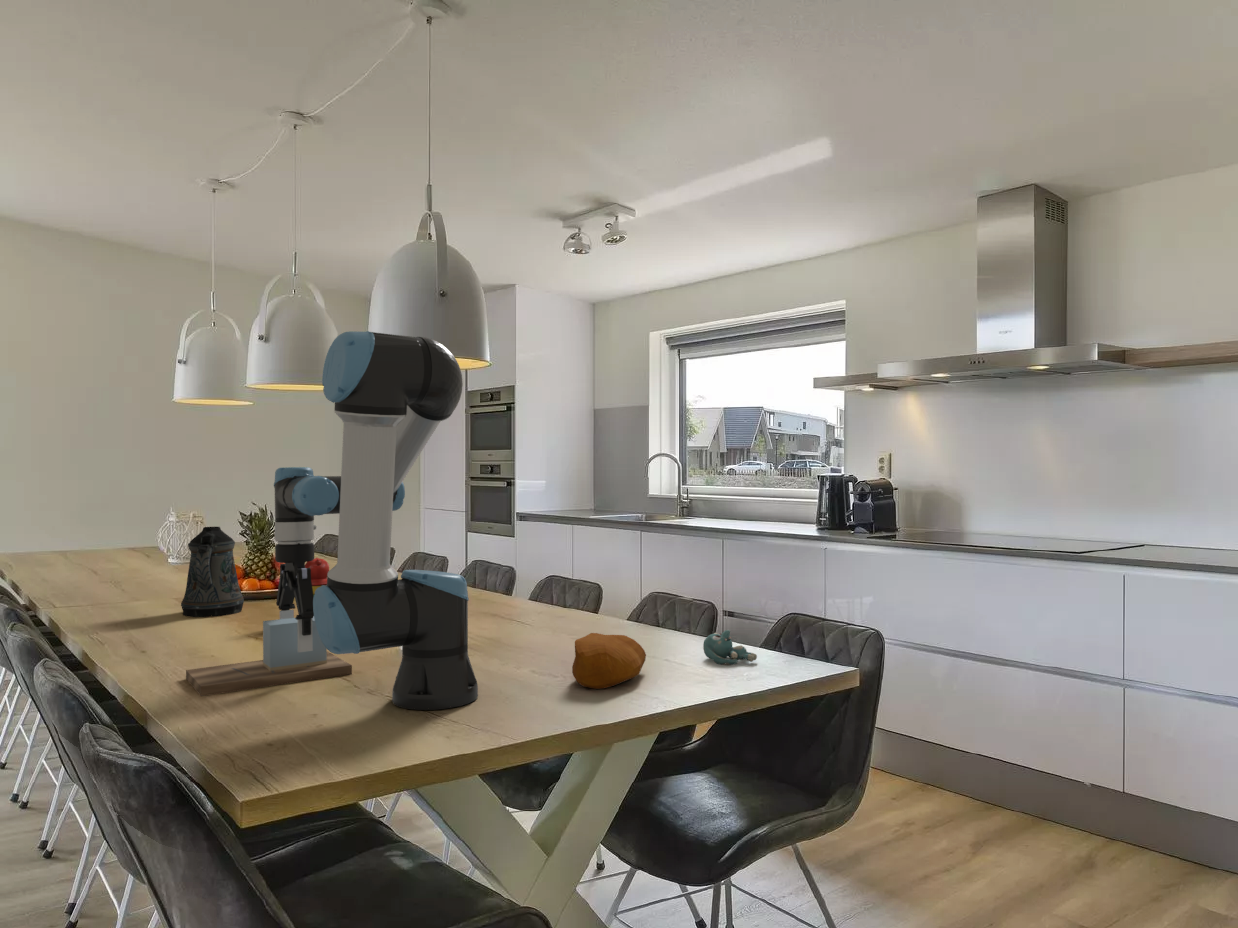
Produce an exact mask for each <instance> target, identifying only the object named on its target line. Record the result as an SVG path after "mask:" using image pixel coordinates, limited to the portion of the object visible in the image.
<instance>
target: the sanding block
mask: <svg viewBox="0 0 1238 928" xmlns="http://www.w3.org/2000/svg"><path fill="white" fill-rule="evenodd" d="M295 618H296V617H294V618H288V619H280V618H279V619H271V620H263V622H262V636H263V637H262V653H263V654H262V655H263V656H262V660H263V666H265V667H266V668H267V669H269V670H270V671H273V670H280V669H288V668H295V667H302V666H310V665H317V664H325V663H327V652H328V651H327V648H326V647H325V646H324V645H323V643H322V641H321V639H320V637H319V634H318V631H317V628H316V624H315V619H314V616H313V618H312V628H313V651H307V652H298V633H297V620H296V619H295Z"/></svg>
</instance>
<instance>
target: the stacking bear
mask: <svg viewBox="0 0 1238 928" xmlns="http://www.w3.org/2000/svg"><path fill="white" fill-rule="evenodd" d="M305 568H310V569H311V582H312V588H313V595H315V591H316V589H317V588H318V587H321V586H322V585H327V574H328V572H329V571H330V565H329V563H328V561H327V560H326V559H324V558H319V557H315V558H314V560H312V561H309V562H305Z"/></svg>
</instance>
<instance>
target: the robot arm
mask: <svg viewBox="0 0 1238 928" xmlns="http://www.w3.org/2000/svg"><path fill="white" fill-rule="evenodd" d="M321 377H322V379H321V380H322V381H321V383H322V386H323V388H322V389H323V394H324V397H325V399H327V400H328V402H331V403H333V404H334V411H333V412H334V414H336V415H337V416H338V418H340V420H341V421H342V423H343V428H342V430H343V431H342V449H341V450H342V451H341V468H340V469H341V472H340V473H341V474H340V475H334V476H333V475H330V476H329V475H324V476H323V475H314V470H313V469H312V467H307V466H306V467H304V466H303V467H302V466H299V467H294V466H292V467H291V466H290V467H278V468H277V469H275V472H274V483H273V488H274V541H275V542H277V544H276V545H274V553H275V554H274V559H275V562H276V563H278V564H279V563H280V565H279V579H278V587H277V596H276V603H275V604H276V606H277V607H278V611H279V619H288V618H295V619H296V620H297V633H298V652H307V651H313V628H312V618H313V616H314V619H315V624H316V628H317V631H318V634H319V637H320V639H321V641H322V643H323V645H324V646H325V647H326V648H327V650H328V652H329V653H331V654H333V655H346V654H347V655H348V654H354V655H356V654H359V653H365V652H370V651H377V650H384V649H393V648H399V647H401V648H402V651H401V652H402V655H401V656H402V657H401V661H400V664H399V667H398V671H397V674H396V677H395V681H394V683H393V687H392V691H391V692H392V695H391V697H392V704H393V705H395V706H396V707H399V708H402V709H408V710H419V711H420V710H421V711H432V710H433V711H434V710H435V711H436V710H445V709H453V708H457V707H461V706H465V705H467V704H471V703H472V702H474V701H475V700H478V696H479V694H478V693H479V686H478V685H479V684H478V680H477V679H476V676H475V673H474V670H473V666H472V663H471V660H470V657H469V647H468V646H469V644H468V643H469V641H468V640H469V639H468V638H469V634H468V633H469V630H468V629H469V628H468V627H469V620H468V619H469V617H468V616H469V614H468V613H469V612H468V611H469V607H468V606H469V601H470V599H469V594H468V593H469V592H468V591H469V590H468V584H467V580H466V578H465V577H464V576H463V575H461V574H458V573H453V572H447V571H438V570H427V569H425V570H422V569H405V570H403V571H402V572H401V575H400V579H399V572H398V571H397V570H396V569H395V568H394V567H393V566H392V565H391V563H390V562H391V547H392V545H391V543H392V529H393V528H392V527H393V512H395V511H398V510H399V509H400V508H402V507H403V504H404V499H405V497H406V491H405V485H404V484H405V483H404V480H405V478H406V477H407V476H408V473H409V472H410V470H411V469H412V467H413V466H414V464H415V463H416V461H417V459H418V458H419V456H420V454H421V453H422V451H423V449H424V448H425V446H426V445H427V443H428V441H430V439H431V437H432V436H433V434H434V433H435V431H436V429H437V427H438V426H439V424H440V423H441V422H443V421H446V420H447V419H449V418H450V417H452V416H451V415H453V413H454V411H455V410H456V408H457V406H458V405H459V402H460V400H461V398H462V393H463V383H464V382H463V374H462V372H461V367H460V365H459V362H458V360H457V359H456V357H455V355H454V354H453V353H452V352H451V351H450V350H449V349H448V348H447V347H446V346H445V345H443V344H442V343H441V342H439V341H437V340H435V339H432V338H429V337H426V336H425V337H424V336H410V335H399V334H392V333H384V332H383V333H382V332H374V331H369V330H366V331H349V330H348V331H345V332H344V331H343V332H341V333H340V334H338V335H337V336H336V337H335V338H334V340H333V341H332V342H331V345H330V346H329V348H328V350H327V353H326V356H325V359H324V362H323V368H322V376H321ZM336 514H337V515H339V516H338V519H339V521H338V535H337V536H338V539H337V540H338V541H337V542H338V543H337V562H336V564H335V565H334V566H333V567H332V568H331V569H329V572H328V574H327V585H322V586H321V587H318V588H317V589H316V591H315V595H313V588H312V582H311V569H310V568H305V564H306V563H307V562H309V561H312V560H314V559H315V544H314V542H312V541H313V540H314V539H315V530H317V525H315V522H314V520H315V516H323V515H336ZM294 601H295V603H294ZM295 604H296V605H295ZM294 609H297V613H298V614H296V615H294V614H295V610H294Z"/></svg>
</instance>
